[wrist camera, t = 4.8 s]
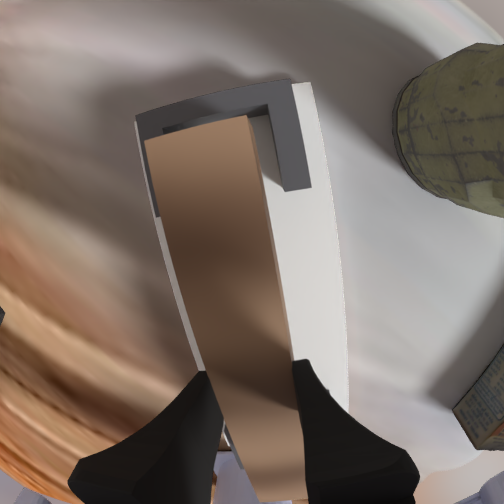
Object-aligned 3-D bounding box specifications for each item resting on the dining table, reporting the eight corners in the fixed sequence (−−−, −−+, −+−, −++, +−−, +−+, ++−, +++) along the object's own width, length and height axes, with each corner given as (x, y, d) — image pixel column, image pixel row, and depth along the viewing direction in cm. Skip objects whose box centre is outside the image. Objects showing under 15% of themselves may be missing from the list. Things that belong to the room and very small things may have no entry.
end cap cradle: (345, 419, 22) (354, 458, 18) (230, 433, 23) (224, 472, 19) (307, 88, 16) (318, 65, 11) (143, 124, 17) (108, 115, 12)
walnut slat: (308, 457, 17) (311, 497, 14) (261, 462, 17) (259, 502, 14) (252, 127, 12) (246, 115, 8) (176, 145, 12) (144, 140, 9)
